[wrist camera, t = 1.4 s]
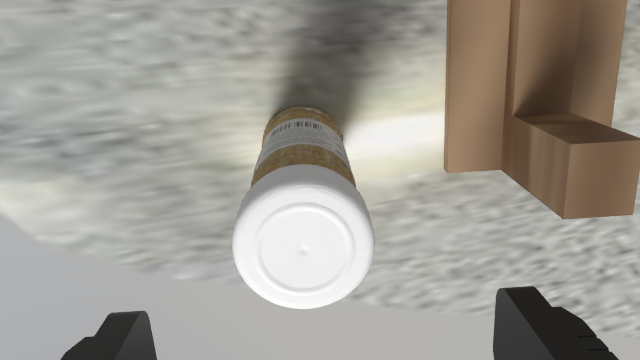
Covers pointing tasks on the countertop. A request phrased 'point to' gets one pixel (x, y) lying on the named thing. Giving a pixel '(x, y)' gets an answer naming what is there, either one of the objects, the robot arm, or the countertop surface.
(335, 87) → the countertop surface
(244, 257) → the sprinkles bottle
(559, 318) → the robot arm
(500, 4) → the walnut slotted holder
